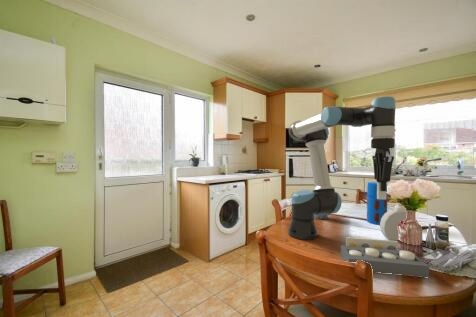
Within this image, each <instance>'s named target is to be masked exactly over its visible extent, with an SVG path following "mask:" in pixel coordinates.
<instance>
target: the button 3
mask: <svg viewBox="0 0 476 317" xmlns="http://www.w3.org/2000/svg"><path fill="white" fill-rule="evenodd" d="M382 256H383V257H384V258H391V259H396V256H395V255H393V254H391V253H382Z"/></svg>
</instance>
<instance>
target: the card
mask: <svg viewBox="0 0 476 317" xmlns="http://www.w3.org/2000/svg"><path fill="white" fill-rule="evenodd" d="M345 239H346V240H345V246H354V247H366V248H379V249H391V250H399V241H397V240H388V239H378V238H377V239H375V238H362V237H361V238H360V237H349V236H347V237H346V238H345Z"/></svg>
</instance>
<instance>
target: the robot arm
mask: <svg viewBox="0 0 476 317" xmlns="http://www.w3.org/2000/svg"><path fill="white" fill-rule="evenodd" d="M396 110H397V109H396V99H395V98H394V96H389V95H387V96H379V97H375V98H373V99H372V100H371V105H369V106H365V107H351V106H350V107H348V106H337V105H332V106H326V107H324V108H323V109H322V111H321V113H318V114H315V115H313V116H310V117H307V118H305V119H303V120H297V121H294V122H292V123H291V124H290V126H289V127H288V134H289V136H290V138H292V139H293V140H294V141H297V142H304V143H305V146H306V147H307V148H308V153H309V158H310V166H311V171H312V180H313V184H314V188H313V189H312V190H311V189H310V190H309V189H307V190H304V189H303V190H296V191H294V192H293V193H292V194H291V219H290V220H291V221H290V223H289V226H288V230H287V233H288V236H290V237H292V238H293V239H299V240H305V241H307V240H314V239H316V238H318V229H317V226H316V223H315V218H314V215H320V214H327V215H332V214H336V213H338V212H339V211H340V209H341V208H342V197H341V195H340V194H339V192H337V191H336V190H335V187H333V186H332V184H331V178H330V172H329V168H328V162H327V156H326V150H325V145H326V142H327V141H328V139H329V134H330V132H329V128H332V127H336V126H351V127H353V128H356V127H357V128H361V127H364V126H371V127H370V128H371V129H370V137H371V138H372V139H371V140H370V147H371V149H375V152H374V155H372V157H371V158H372V161H373V162H372V163H373V165H372V166H373V174H374V177H373V178H374V180H376V181H375V182H377V199H385V200H386V192H387V186H388V182H391V177H392V176H391V174H392V171H393V169H392V168H393V163H394V161H395V160H394V159H395V156H393V155H391V149H394V148H395V145H396V144H395V143H396V142H395V138H394V137H395V135H396V134H395V132H397V131H396V130H397V129H396V122H395V121H396Z"/></svg>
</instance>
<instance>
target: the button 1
mask: <svg viewBox="0 0 476 317" xmlns="http://www.w3.org/2000/svg"><path fill="white" fill-rule="evenodd" d="M349 254H350V255H357V256H362V253H361V252H360V251H357V250H349Z"/></svg>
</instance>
